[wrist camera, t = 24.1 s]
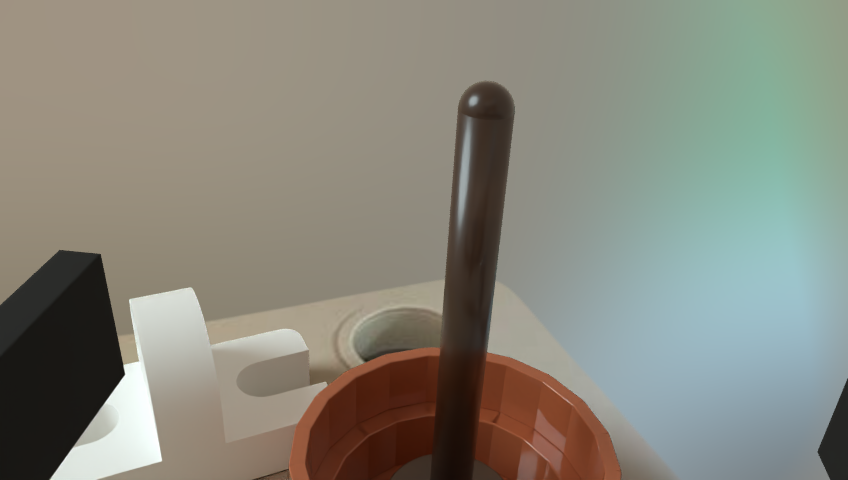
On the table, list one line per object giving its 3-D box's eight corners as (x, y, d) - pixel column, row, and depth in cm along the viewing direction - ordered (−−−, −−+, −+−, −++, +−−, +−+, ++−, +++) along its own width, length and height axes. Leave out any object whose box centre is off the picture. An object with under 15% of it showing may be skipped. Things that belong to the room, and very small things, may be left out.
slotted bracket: (297, 364, 41) (291, 239, 37) (341, 452, 35) (340, 316, 31) (31, 430, 35) (-8, 293, 32) (35, 545, 30) (-11, 397, 26)
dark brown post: (520, 512, 32) (593, 69, 22) (493, 620, 28) (570, 128, 18) (404, 480, 33) (426, 47, 24) (361, 579, 29) (367, 96, 19)
